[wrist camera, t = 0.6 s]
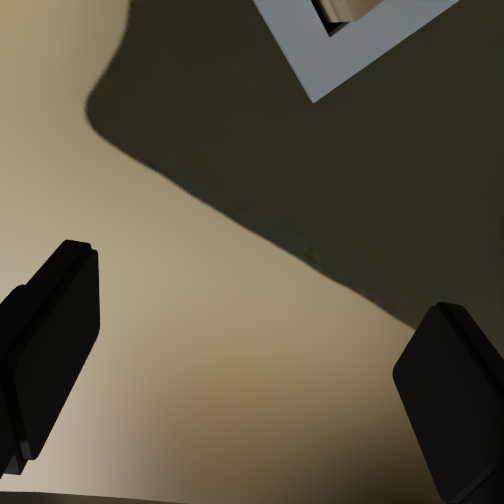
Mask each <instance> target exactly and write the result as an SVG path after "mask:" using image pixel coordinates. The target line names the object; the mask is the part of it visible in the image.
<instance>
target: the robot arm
mask: <svg viewBox="0 0 504 504" xmlns="http://www.w3.org/2000/svg"><path fill="white" fill-rule="evenodd" d="M99 329H100V304H99V269H98V252H97V251H96V250H93V249H92V248H91V245H90V244H89V243H85V242H79V241H73V240H65V241H63V242H62V244H61V245H60V246H59V247H58V248H57V249H56V250H55V252H54V253H53V254H52V255H51V256H50V257H49V258H48V260H47V261H46V262H45V263H44V264H43V265H42V267H41V268H40V269H39V270H38V271H37V272H36V273H35V275H34V276H33V277H32V278H31V279H30V280H29V281H28V283H27V284H26V285H19V286H17V287H16V288H15V289H13V290H12V292H11V293H10V294H9V295H8V296H7V297H6V298H5V299H4V300H3V302H1V304H0V479H1V477H2V475H3V473H4V474H15V475H21V473H22V471H23V469H24V467H25V465H26V463H27V461H28V460H35V459H36V458H37V457H38V456H39V454H40V452H41V450H42V448H43V446H44V444H45V442H46V440H47V438H48V436H49V434H50V432H51V430H52V428H53V426H54V424H55V422H56V420H57V418H58V416H59V413H60V412H61V410H62V408H63V406H64V404H65V402H66V400H67V398H68V396H69V394H70V392H71V389H72V387H73V386H74V384H75V382H76V379H77V377H78V375H79V373H80V371H81V369H82V367H83V365H84V363H85V361H86V359H87V357H88V355H89V353H90V351H91V349H92V347H93V345H94V343H95V341H96V339H97V337H98V334H99ZM393 380H394V382H395V385H396V388H397V390H398V392H399V395H400V398H401V400H402V403H403V405H404V408H405V410H406V412H407V415H408V417H409V420H410V423H411V425H412V428H413V430H414V433H415V435H416V437H417V440H418V443H419V445H420V448H421V450H422V453H423V455H424V458H425V460H426V463H427V465H428V468H429V470H430V473H431V475H432V478H433V480H434V483H435V485H436V488H437V490H438V492H439V495H440V497H441V498H442V500H443V501H445V502H446V503H447V504H504V360H503V358H502V357H501V356H500V354H499V353H498V352H497V350H496V349H495V348H494V346H493V345H492V344H491V342H490V341H489V340H488V338H487V337H486V336H485V334H484V333H483V332H482V330H481V329H480V328H479V326H478V325H477V324H476V322H475V321H474V320H473V318H472V317H471V316H470V314H469V313H468V312H467V310H466V309H465V308H464V307H463V306H461V305H457V304H451V303H445V302H439V303H437V304H436V305H435V306H432V307H431V308H430V309H429V310H428V312H427V313H426V315H425V317H424V318H423V320H422V322H421V323H420V325H419V327H418V328H417V330H416V331H415V333H414V335H413V336H412V338H411V340H410V341H409V343H408V345H407V346H406V348H405V350H404V351H403V353H402V354H401V356H400V358H399V359H398V361H397V363H396V364H395V366H394V368H393ZM0 504H185V503H173V502H162V501H150V500H139V499H127V498H115V497H100V496H85V495H71V494H57V493H44V492H5V491H0Z"/></svg>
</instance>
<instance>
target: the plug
mask: <svg viewBox="0 0 504 504" xmlns="http://www.w3.org/2000/svg"><path fill="white" fill-rule="evenodd" d="M316 1H317V3H318V5H319V7H320V9H321V11H322V13H323V15H324V17H325V19H326V21H327V23H328V22H352V21H358V20H359V19H360V18H361V17H363V16H364V15H365V14H367V13H368V12H369V11H371V10H372V9H373V8H375V7H376V6H377V5H379V4H380V3H381V2H383V1H384V0H316Z"/></svg>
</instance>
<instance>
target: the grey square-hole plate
mask: <svg viewBox="0 0 504 504" xmlns="http://www.w3.org/2000/svg"><path fill="white" fill-rule="evenodd" d="M253 1H254V3H255V5H256V7H257V8H258V10H259V12H260V14H261V15H262V17H263V19H264V21H265V22H266V24H267V26H268V27H269V29H270V31H271V33H272V34H273V36H274V38H275V40H276V41H277V43H278V45H279V46H280V48H281V50H282V52H283V53H284V55H285V57H286V59H287V60H288V62H289V64H290V66H291V67H292V69H293V71H294V72H295V74H296V76H297V78H298V79H299V81H300V83H301V85H302V86H303V88H304V90H305V92H306V93H307V95H308V97H309V98H310V100H311V101H312V102H313V103H314V102H316V101H317V100H319V99H320V98H322V97H323V96H324V95H326V94H327V93H329V92H330V91H331V90H333V89H334V88H336V87H337V86H339V85H340V84H341V83H343V82H344V81H346V80H347V79H348V78H350V77H351V76H353V75H354V74H356V73H357V72H358V71H360V70H361V69H363V68H364V67H365V66H367V65H368V64H370V63H371V62H372V61H374V60H375V59H377V58H378V57H380V56H381V55H382V54H384V53H385V52H387V51H388V50H389V49H391V48H392V47H394V46H395V45H397V44H398V43H399V42H401V41H402V40H404V39H405V38H406V37H408V36H409V35H411V34H412V33H413V32H415V31H416V30H418V29H419V28H421V27H422V26H423V25H425V24H426V23H428V22H429V21H430V20H432V19H433V18H435V17H436V16H438V15H439V14H440V13H442V12H443V11H445V10H446V9H447V8H449V7H450V6H452V5H453V4H454V3H456V2H457V1H459V0H384V1H383V2H381V3H380V4H379V5H377V6H376V7H375V8H373V9H372V10H371V11H369V12H368V13H367V14H365V15H364V16H363V17H361V18H360V19H359V20H358V21H352V22H343V23H342V24H341V25H339V26H338V27H337V28H335V29H334V30H333V31H331V32H330V33H329V34H327V32H326V30H325V28H324V26H323V24H322V22H321V20H320V18H319V16H318V14H317V12H316V10H315V8H314V6H313V4H312V3H311V1H310V0H253Z"/></svg>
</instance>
